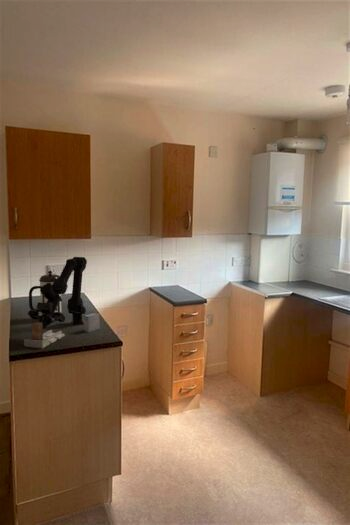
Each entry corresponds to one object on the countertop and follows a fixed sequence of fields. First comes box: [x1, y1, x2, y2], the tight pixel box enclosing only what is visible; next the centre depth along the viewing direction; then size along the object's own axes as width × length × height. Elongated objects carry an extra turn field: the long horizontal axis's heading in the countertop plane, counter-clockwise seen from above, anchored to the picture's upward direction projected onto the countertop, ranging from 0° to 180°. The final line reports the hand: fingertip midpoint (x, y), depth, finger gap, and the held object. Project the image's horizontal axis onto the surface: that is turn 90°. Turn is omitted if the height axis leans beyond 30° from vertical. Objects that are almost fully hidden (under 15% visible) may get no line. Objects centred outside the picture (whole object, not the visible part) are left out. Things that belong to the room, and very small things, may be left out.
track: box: [23, 329, 65, 349], centre depth 194 cm, size 20×10×4 cm, turn 165°
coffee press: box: [28, 270, 63, 314], centre depth 231 cm, size 17×16×30 cm
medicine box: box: [83, 312, 101, 333], centre depth 212 cm, size 8×4×9 cm, turn 141°
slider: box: [31, 321, 44, 341], centre depth 186 cm, size 4×4×10 cm
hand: (39, 330), depth 189 cm, fingers closed
